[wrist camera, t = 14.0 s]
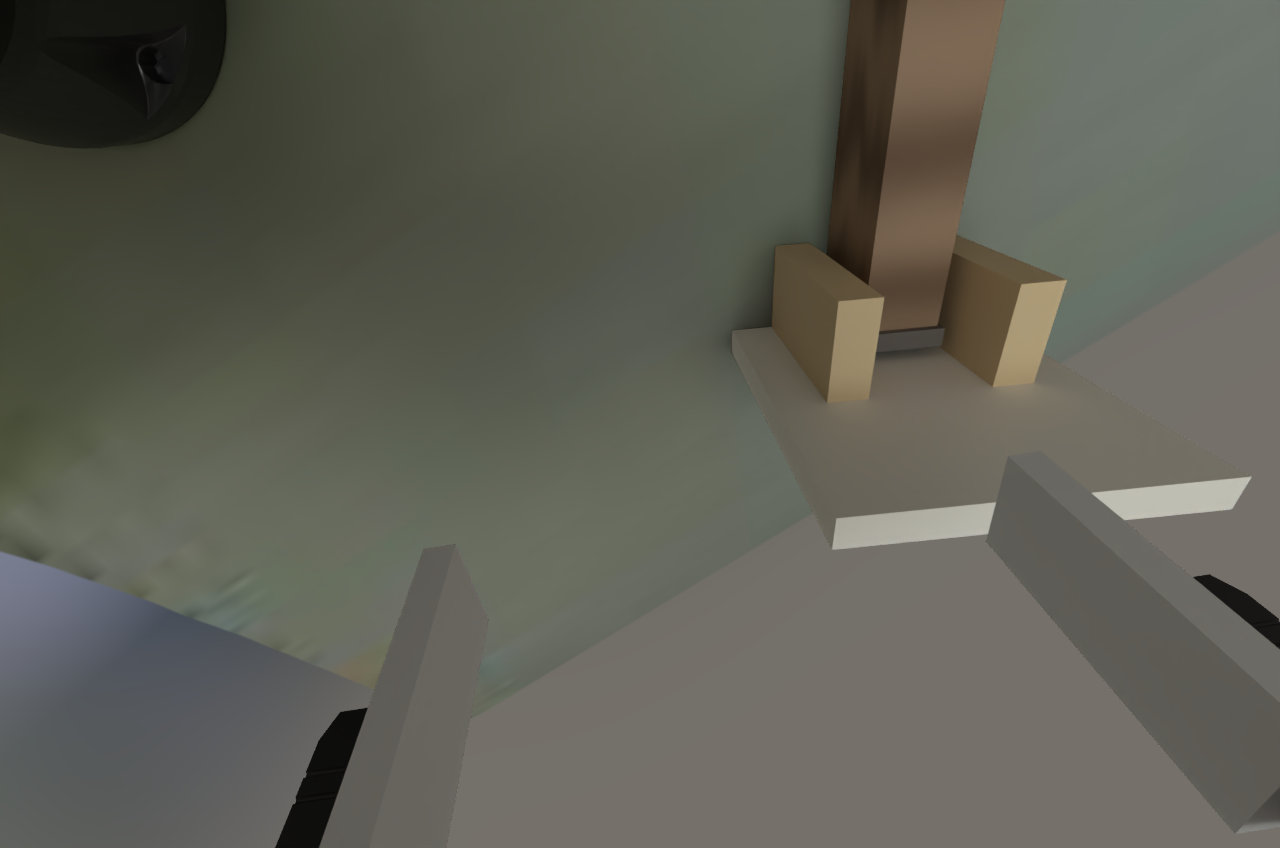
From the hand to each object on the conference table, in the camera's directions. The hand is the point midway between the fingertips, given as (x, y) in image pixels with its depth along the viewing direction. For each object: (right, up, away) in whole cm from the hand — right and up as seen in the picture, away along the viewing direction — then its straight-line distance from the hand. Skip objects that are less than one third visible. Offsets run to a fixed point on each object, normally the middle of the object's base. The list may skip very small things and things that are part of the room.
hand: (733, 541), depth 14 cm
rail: (+10, +18, +17) cm, 26 cm away
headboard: (+11, +12, +20) cm, 26 cm away
